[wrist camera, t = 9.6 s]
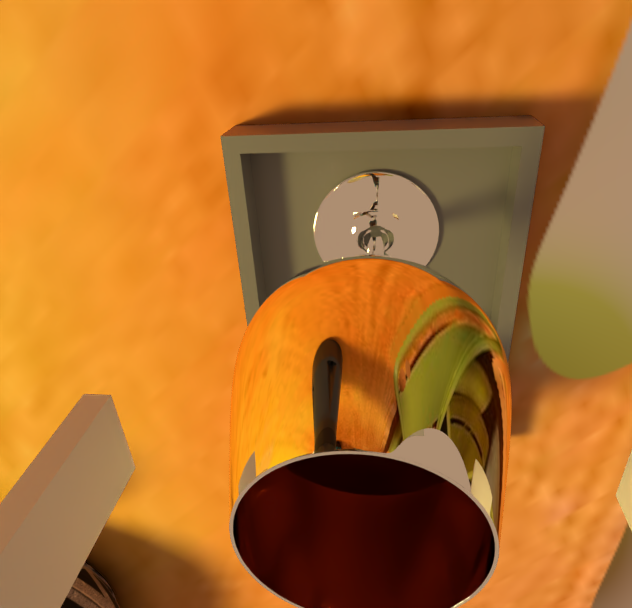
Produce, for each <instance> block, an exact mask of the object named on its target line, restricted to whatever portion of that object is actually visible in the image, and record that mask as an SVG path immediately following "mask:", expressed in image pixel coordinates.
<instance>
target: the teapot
mask: <svg viewBox="0 0 632 608" xmlns="http://www.w3.org/2000/svg"><path fill="white" fill-rule="evenodd" d="M61 608H120V607H119V605H118V603H117V601H116V598H115V595H114V592H113V591H112V589H111V587H110V586H109V584H108V583H107V582H106V580H105V579H104V578H103V577H102V576H101V575H100V574H99V573H98V572H97V571H96V570H95V569H93V568H92V567H91V566H89V565H88V564H87V563H84V565H83V567H82V568H81V570H80V572H79V574H78V576H77V578H76V580H75V582H74V583H73V585H72V587H71V589H70V591H69V593H68V595H67V596H66V598H65V600H64V602H63V604H62V606H61Z"/></svg>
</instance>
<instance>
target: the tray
mask: <svg viewBox="0 0 632 608" xmlns="http://www.w3.org/2000/svg"><path fill="white" fill-rule="evenodd" d="M544 129H545V126H544V125H543V124H542V123H540V122H539V121H538V120H536V119H535V118H534V117H533V116H531V115H525V116H496V117H467V118H438V119H410V120H381V121H352V122H323V123H294V124H265V125H237V126H234V127H232V128H231V129H230V130H228V131H227V132H226V133H224V134H223V135H222V136H221V143H222V150H223V157H224V164H225V171H226V178H227V185H228V192H229V199H230V206H231V213H232V220H233V227H234V234H235V241H236V248H237V255H238V262H239V269H240V276H241V283H242V290H243V297H244V304H245V312H246V319H247V326H248V325H249V323H250V322H251V320H252V318H253V317H254V315H255V313H256V312H257V310H258V309H259V308H260V306H261V305H262V304H263V303H264V301H265V300H266V299H267V298H268V297H269V296H270V295H271V294H272V293H273V292H274V291H275V290H276V289H277V288H278V287H280V286H281V285H282V284H283V283H285V282H286V281H287V280H289V279H290V278H292V277H293V276H295V275H296V274H298V273H300V272H302V271H303V270H305V269H307V268H310V267H312V266H314V265H317V264H319V263H322V262H323V260H322V259H321V257H320V255H319V253H318V251H317V248H316V245H315V240H314V221H315V217H316V213H317V210H318V208H319V206H320V204H321V202H322V200H323V199H324V197H325V196H326V195H327V193H328V192H329V191H330V190H331V189H332V188H333V187H334V186H336V185H337V184H338V183H340V182H341V181H343V180H344V179H346V178H348V177H350V176H353V175H355V174H358V173H362V172H368V171H386V172H392V173H396V174H399V175H401V176H404V177H406V178H408V179H410V180H411V181H413V182H414V183H416V184H417V185H418V186H420V187H421V188H422V189H423V190H424V191H425V193H426V194H427V195H428V196H429V198H430V199H431V201H432V203H433V205H434V207H435V209H436V212H437V216H438V220H439V238H438V243H437V247H436V249H435V252H434V254H433V256H432V258H431V259H430V261H429V262H428V264H427V265H426V266H427V267H430V268H432V269H434V270H436V271H438V272H440V273H441V274H443V275H445V276H446V277H448V278H449V279H451V280H452V281H454V282H455V283H456V284H458V285H459V286H460V287H462V288H463V289H464V290H465V291H466V292H467V293H468V294H469V295H471V297H472V298H473V299H474V300H475V301H476V302H477V303H478V304H479V305H480V306H481V308H482V309H483V310H484V312H485V313H486V314H487V316H488V317H489V319H490V320H491V322H492V324H493V325H494V327H495V329H496V331H497V333H498V335H499V337H500V340H501V342H502V345H503V348H504V351H505V354H506V358H507V362H508V360H509V354H510V347H511V341H512V334H513V328H514V321H515V315H516V309H517V302H518V296H519V289H520V283H521V277H522V270H523V264H524V257H525V251H526V245H527V238H528V232H529V225H530V219H531V212H532V206H533V200H534V193H535V187H536V180H537V174H538V168H539V161H540V155H541V148H542V142H543V136H544Z"/></svg>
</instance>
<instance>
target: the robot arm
mask: <svg viewBox="0 0 632 608" xmlns="http://www.w3.org/2000/svg"><path fill="white" fill-rule="evenodd" d="M134 470H135V465H134V462H133V459H132V456H131V453H130V450H129V447H128V444H127V441H126V438H125V435H124V432H123V429H122V426H121V423H120V420H119V417H118V415H117V412H116V409H115V406H114V403H113V400H112V397H111V395H96V394H84V395H83V396H82V397H81V399H80V400H79V401H78V403H77V404H76V405H75V406H74V408H73V409H72V410H71V412H70V413H69V414H68V416H67V417H66V418H65V420H64V421H63V422H62V424H61V425H60V426H59V427H58V429H57V430H56V431H55V433H54V434H53V435H52V437H51V438H50V439H49V441H48V442H47V443H46V445H45V446H44V447H43V448H42V450H41V451H40V452H39V454H38V455H37V456H36V458H35V459H34V460H33V462H32V463H31V464H30V466H29V467H28V468H27V469H26V471H25V472H24V473H23V475H22V476H21V477H20V479H19V480H18V481H17V483H16V484H15V485H14V486H13V488H12V489H11V490H10V492H9V493H8V494H7V496H6V497H5V498H4V500H3V501H2V502H1V504H0V608H61V606H62V604H63V602H64V600H65V598H66V596H67V595H68V593H69V591H70V589H71V587H72V585H73V583H74V582H75V580H76V578H77V576H78V574H79V572H80V570H81V568H82V567H83V565H84V563H85V561H86V559H87V557H88V555H89V554H90V552H91V550H92V548H93V546H94V544H95V542H96V540H97V539H98V537H99V535H100V533H101V531H102V529H103V527H104V526H105V524H106V522H107V520H108V518H109V516H110V514H111V512H112V511H113V509H114V507H115V505H116V503H117V501H118V499H119V498H120V496H121V494H122V492H123V490H124V488H125V486H126V484H127V483H128V481H129V479H130V477H131V475H132V473H133V471H134ZM616 497H617V500H618V502H619V504H620V506H621V508H622V511H623V513H624V515H625V517H626V520H627V522H628V524H629V526H630V528H631V531H632V451H631V453H630V456H629V459H628V462H627V465H626V468H625V470H624V473H623V476H622V479H621V482H620V485H619V487H618V490H617V493H616Z"/></svg>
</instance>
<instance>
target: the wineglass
mask: <svg viewBox="0 0 632 608" xmlns="http://www.w3.org/2000/svg"><path fill="white" fill-rule="evenodd" d="M438 238H439V220H438V216H437V212H436V209H435V207H434V205H433V203H432V201H431V199H430V198H429V196H428V195H427V194H426V193H425V191H424V190H423V189H422V188H421V187H420V186H418V185H417V184H416V183H414V182H413V181H411V180H410V179H408V178H406V177H404V176H401V175H399V174H396V173H392V172H386V171H368V172H362V173H358V174H355V175H353V176H350V177H348V178H346V179H344V180H343V181H341V182H340V183H338V184H337V185H336V186H334V187H333V188H332V189H331V190H330V191H329V192H328V193H327V195H326V196H325V197H324V199H323V200H322V202H321V204H320V206H319V208H318V210H317V213H316V217H315V221H314V240H315V245H316V248H317V251H318V253H319V255H320V257H321V259H322V260H323V262H322V263H319V264H317V265H314V266H312V267H310V268H307V269H305V270H303V271H302V272H300V273H298V274H296V275H295V276H293V277H292V278H290V279H289V280H287V281H286V282H285V283H283V284H282V285H281V286H280V287H278V288H277V289H276V290H275V291H274V292H273V293H272V294H271V295H270V296H269V297H268V298H267V299H266V300H265V301H264V303H263V304H262V305H261V306H260V308H259V309H258V310H257V312H256V313H255V315H254V317H253V318H252V320H251V322H250V323H249V325H248V327H247V329H246V331H245V334H244V336H243V339H242V341H241V344H240V347H239V351H238V354H237V359H236V363H235V369H234V375H233V383H232V395H231V411H230V451H229V530H230V538H231V542H232V545H233V548H234V551H235V553H236V555H237V557H238V559H239V560H240V562H241V563H242V565H243V566H244V568H245V569H246V570H247V571H248V573H249V574H250V575H251V576H252V577H253V578H254V579H255V580H256V581H257V582H258V583H260V584H261V585H262V586H263V587H264V588H266V589H267V590H268V591H270V592H271V593H273V594H274V595H276V596H277V597H279V598H281V599H282V600H284V601H286V602H288V603H290V604H292V605H294V606H296V607H298V608H457V607H459V606H461V605H462V604H464V603H466V602H467V601H469V600H470V599H471V598H473V597H474V596H475V595H476V594H477V593H478V592H479V591H481V589H482V588H483V587H484V586H485V585H486V584H487V582H488V581H489V579H490V578H491V576H492V574H493V572H494V570H495V568H496V565H497V561H498V557H499V548H500V539H501V530H502V521H503V512H504V502H505V493H506V483H507V473H508V462H509V450H510V437H511V416H512V394H511V380H510V373H509V367H508V362H507V358H506V354H505V351H504V348H503V345H502V342H501V340H500V337H499V335H498V333H497V331H496V329H495V327H494V325H493V324H492V322H491V320H490V319H489V317H488V316H487V314H486V313H485V312H484V310H483V309H482V308H481V306H480V305H479V304H478V303H477V302H476V301H475V300H474V299H473V298H472V297H471V295H469V294H468V293H467V292H466V291H465V290H464V289H463V288H462V287H460V286H459V285H458V284H456V283H455V282H454V281H452V280H451V279H449V278H448V277H446V276H445V275H443V274H441V273H440V272H438V271H436V270H434V269H432V268H430V267H427V266H426V265H427V264H428V262H429V261H430V259H431V258H432V256H433V254H434V252H435V249H436V247H437V243H438Z"/></svg>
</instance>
